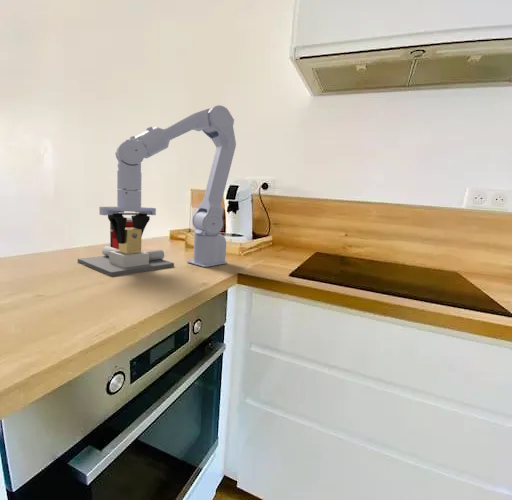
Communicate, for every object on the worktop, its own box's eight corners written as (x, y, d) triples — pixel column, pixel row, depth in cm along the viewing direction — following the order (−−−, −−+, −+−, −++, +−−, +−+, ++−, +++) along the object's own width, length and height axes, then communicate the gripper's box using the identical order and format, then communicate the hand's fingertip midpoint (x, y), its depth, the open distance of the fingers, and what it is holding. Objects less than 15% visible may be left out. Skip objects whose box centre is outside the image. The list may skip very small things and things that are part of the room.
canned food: (118, 249, 107) (118, 216, 105) (140, 251, 106) (141, 218, 104) (105, 253, 100) (104, 218, 98) (128, 255, 99) (129, 220, 97)
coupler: (132, 249, 86) (132, 227, 85) (141, 252, 84) (142, 229, 83) (118, 250, 83) (118, 227, 82) (127, 253, 81) (128, 230, 80)
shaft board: (138, 255, 100) (138, 242, 99) (174, 266, 89) (174, 252, 88) (77, 262, 86) (77, 247, 85) (111, 276, 75) (111, 259, 74)
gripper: (145, 191, 89) (145, 238, 92) (93, 187, 78) (93, 242, 80) (160, 192, 85) (159, 242, 87) (107, 189, 74) (107, 246, 76)
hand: (129, 242), depth 83 cm, fingers closed on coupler, 4 cm apart
